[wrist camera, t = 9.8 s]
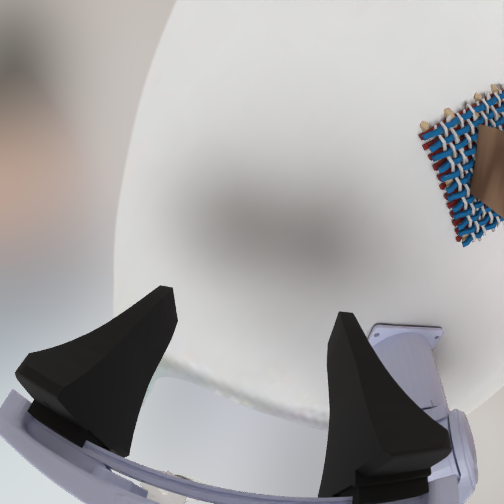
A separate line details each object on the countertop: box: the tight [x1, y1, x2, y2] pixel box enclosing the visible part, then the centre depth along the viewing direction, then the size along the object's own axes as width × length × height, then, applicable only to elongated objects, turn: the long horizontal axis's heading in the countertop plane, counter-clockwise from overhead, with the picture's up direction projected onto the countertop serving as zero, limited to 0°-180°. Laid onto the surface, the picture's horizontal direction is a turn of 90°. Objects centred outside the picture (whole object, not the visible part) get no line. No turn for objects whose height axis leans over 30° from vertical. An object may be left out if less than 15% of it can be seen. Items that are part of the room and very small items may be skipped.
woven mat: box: [419, 84, 504, 247], centre depth 14 cm, size 10×11×2 cm
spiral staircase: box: [140, 471, 187, 504], centre depth 70 cm, size 18×18×25 cm
